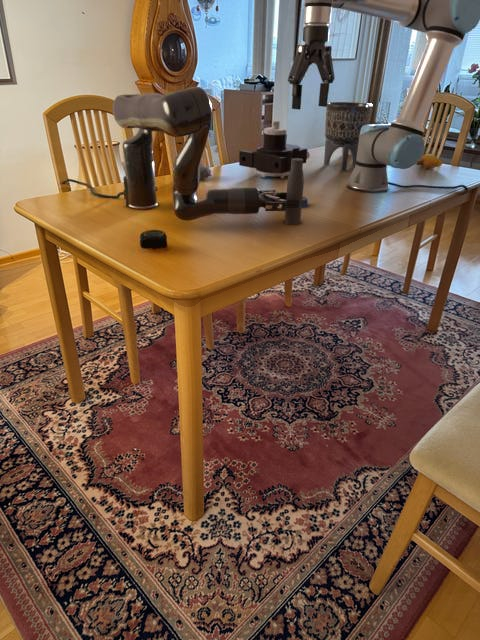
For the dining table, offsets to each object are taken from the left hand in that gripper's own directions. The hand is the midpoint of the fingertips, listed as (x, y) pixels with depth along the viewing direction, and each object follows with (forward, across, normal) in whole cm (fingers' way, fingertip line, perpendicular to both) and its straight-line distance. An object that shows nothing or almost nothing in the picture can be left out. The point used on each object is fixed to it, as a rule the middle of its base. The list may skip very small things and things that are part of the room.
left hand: (295, 199), depth 136 cm
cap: (+7, +17, +5) cm, 19 cm away
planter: (+43, +77, +7) cm, 88 cm away
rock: (-25, +57, +7) cm, 63 cm away
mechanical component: (+11, +66, +7) cm, 67 cm away
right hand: (+7, +17, -24) cm, 30 cm away
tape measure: (-42, -18, +7) cm, 46 cm away
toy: (+84, +74, +7) cm, 112 cm away
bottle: (0, 0, +7) cm, 7 cm away
